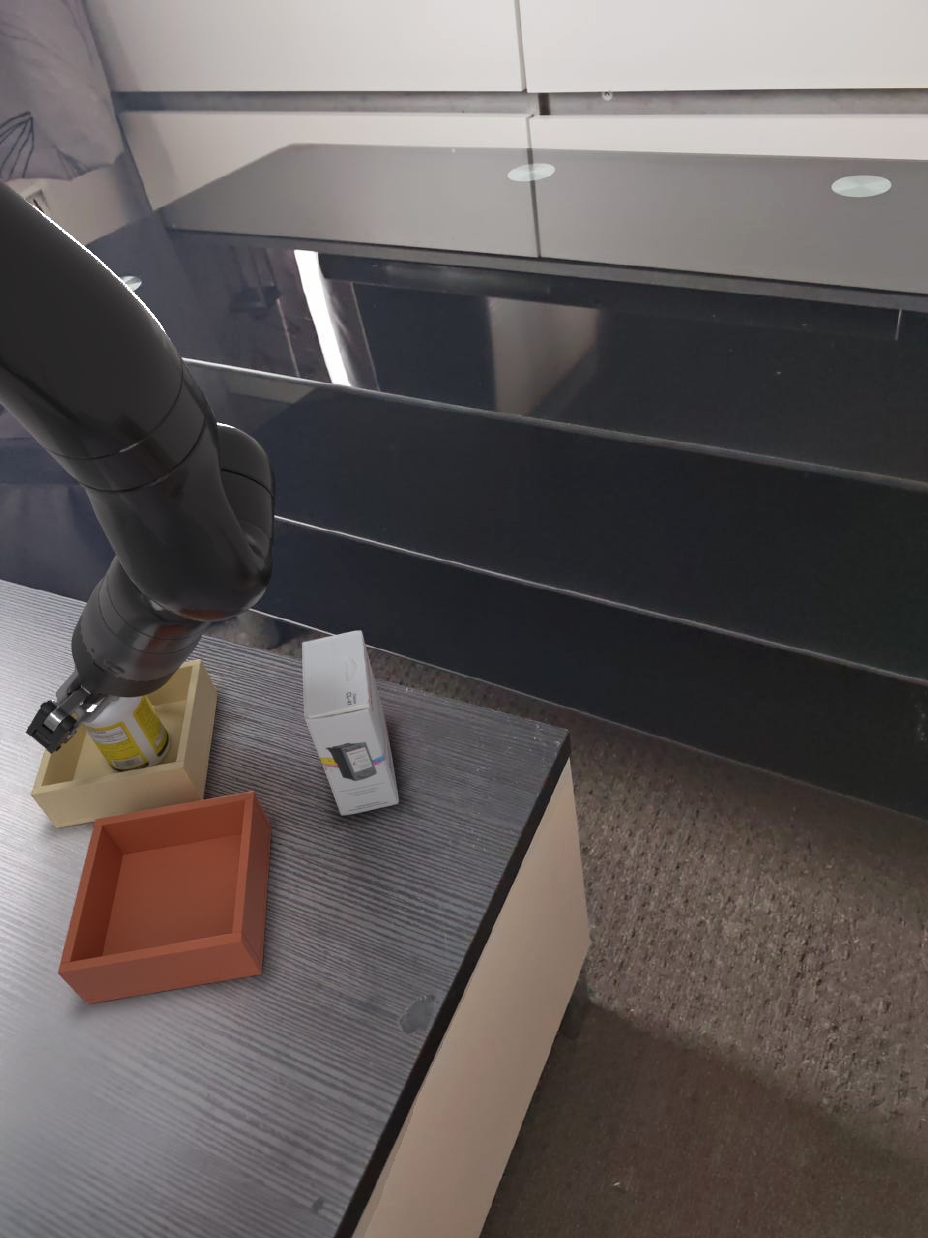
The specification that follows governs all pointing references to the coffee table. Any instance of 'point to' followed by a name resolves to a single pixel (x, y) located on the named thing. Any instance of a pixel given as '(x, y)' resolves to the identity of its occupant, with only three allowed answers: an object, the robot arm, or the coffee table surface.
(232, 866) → the terracotta bin
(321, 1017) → the coffee table surface
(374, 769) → the ink box
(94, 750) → the cream bin
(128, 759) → the supplement bottle
